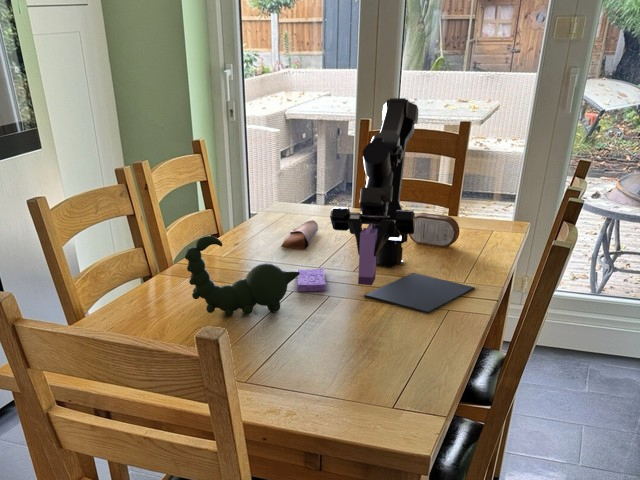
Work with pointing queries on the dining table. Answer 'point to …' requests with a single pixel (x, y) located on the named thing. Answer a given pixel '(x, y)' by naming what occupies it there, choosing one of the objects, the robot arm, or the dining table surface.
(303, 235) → the sunglasses case
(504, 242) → the dining table surface
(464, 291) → the placemat
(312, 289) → the sponge
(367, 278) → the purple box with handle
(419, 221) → the tin
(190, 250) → the toy figurine
